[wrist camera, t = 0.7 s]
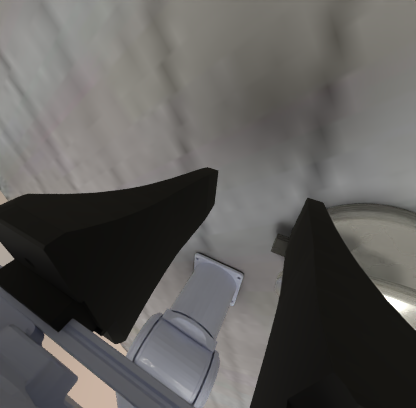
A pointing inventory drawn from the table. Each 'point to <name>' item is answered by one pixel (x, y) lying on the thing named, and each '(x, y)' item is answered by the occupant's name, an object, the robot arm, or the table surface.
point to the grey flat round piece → (375, 240)
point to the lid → (387, 297)
